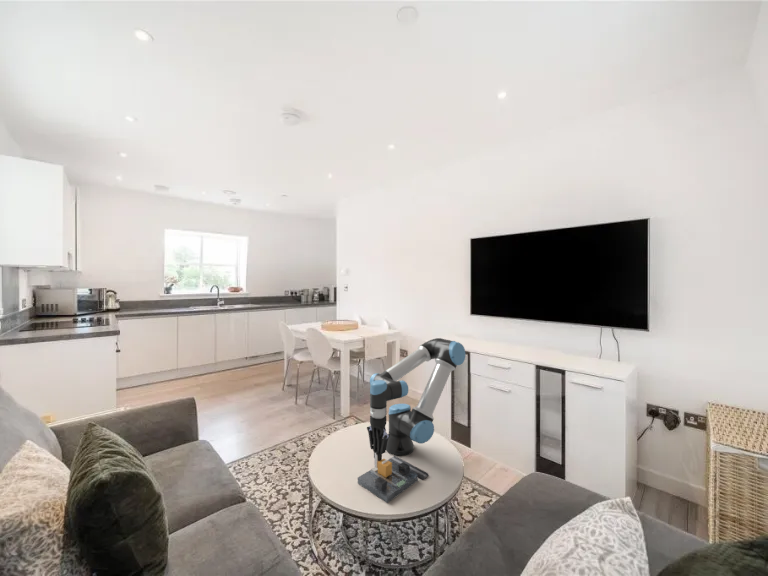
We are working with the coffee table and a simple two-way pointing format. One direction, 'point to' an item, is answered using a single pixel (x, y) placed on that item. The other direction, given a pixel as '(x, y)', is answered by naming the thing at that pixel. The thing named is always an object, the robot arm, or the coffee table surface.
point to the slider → (384, 467)
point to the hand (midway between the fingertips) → (377, 466)
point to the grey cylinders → (413, 469)
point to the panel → (388, 481)
